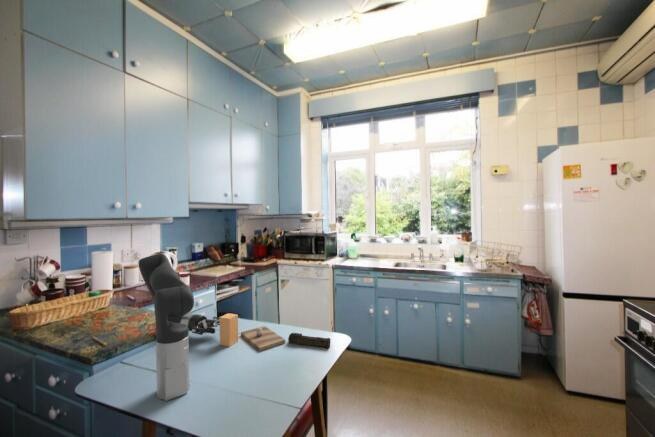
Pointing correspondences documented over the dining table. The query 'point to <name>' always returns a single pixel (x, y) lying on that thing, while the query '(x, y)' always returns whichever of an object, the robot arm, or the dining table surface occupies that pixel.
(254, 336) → the jig plate
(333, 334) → the dining table surface
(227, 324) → the light orange rectangular block
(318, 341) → the dark brown rough bar
